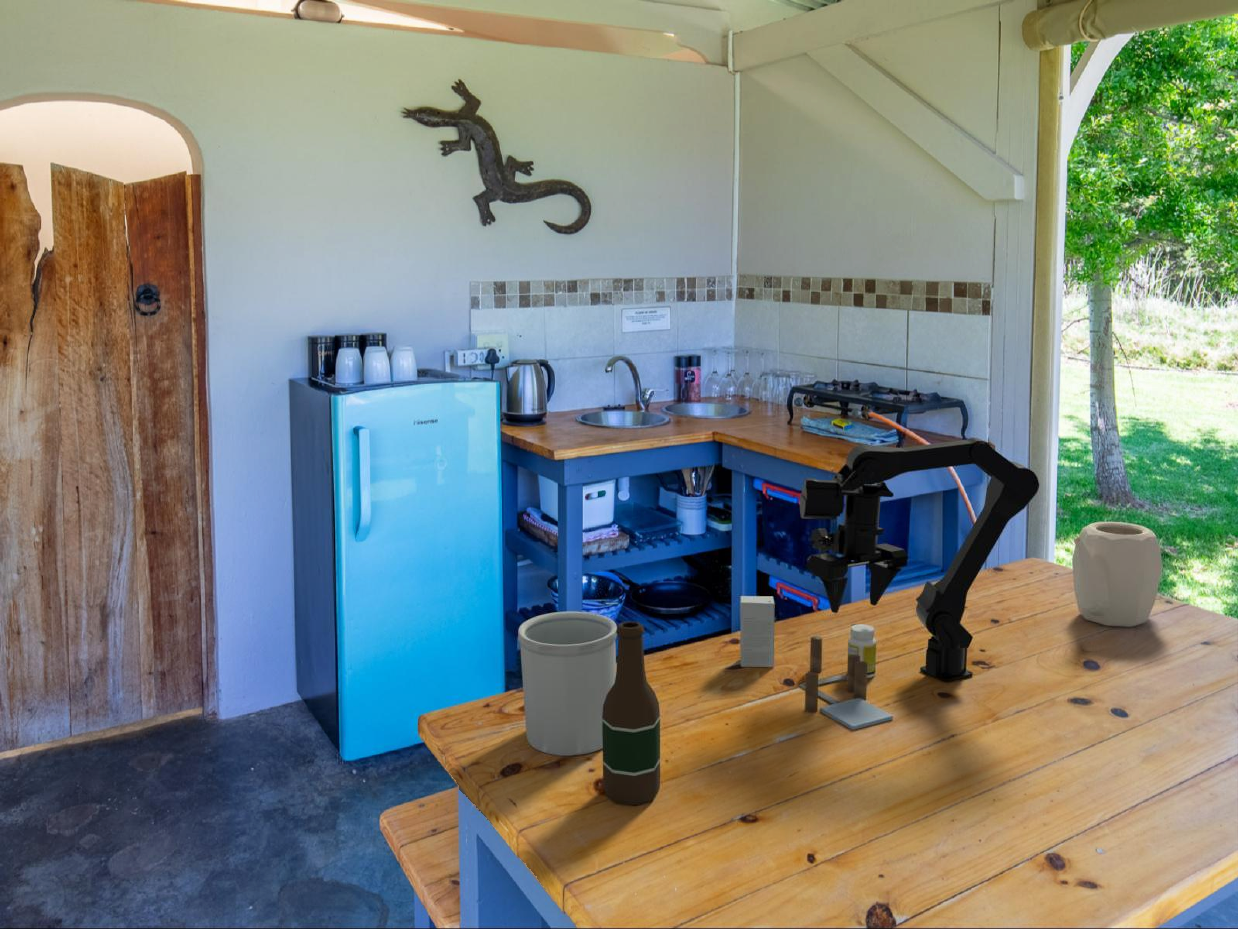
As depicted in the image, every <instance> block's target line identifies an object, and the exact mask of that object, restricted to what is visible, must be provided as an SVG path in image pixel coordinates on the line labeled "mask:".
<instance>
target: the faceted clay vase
mask: <svg viewBox="0 0 1238 929" xmlns="http://www.w3.org/2000/svg"><path fill="white" fill-rule="evenodd" d="M1072 541H1073V543H1074V544H1075V545H1074V550H1073V554H1072V558H1071V561H1072V563H1071V564H1072V578H1073V591H1074V595H1075V600H1076V605H1077V608H1078V612H1079V613H1080V614H1081V616H1082V617H1083V619H1085V620H1086V621H1090V622H1094V623H1098V624H1101V625H1103V626H1107V627H1123V628H1124V627H1127V628H1132V627H1135V626H1138V625H1141V624H1144V623H1146V622H1147V621H1148V619H1149V617H1150V615H1151V612H1152V610H1153V607H1154V605H1155V604H1156V600H1157V599H1156V598H1157V595H1158V590H1159V588H1160V583H1161V582H1160V581H1161V578H1162V574H1163V565H1162V564H1163V562H1162V553H1161V548H1160V545H1159V544H1160V543H1159V541H1158V538H1157V535H1156V534H1155V532H1154V531H1152V530H1151V529H1149V528H1147V526H1146V527H1145V526H1143V525H1139V524H1135V523H1131V522H1130V523H1129V522H1124V521H1123V522H1122V521H1097V522H1092V523H1090V524H1088V525H1086V526H1084V527H1083V528H1082V529H1081V531H1080V534H1079V535H1078V537H1075V538H1074V539H1072Z"/></svg>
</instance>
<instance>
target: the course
mask: <svg viewBox="0 0 1238 929" xmlns="http://www.w3.org/2000/svg"><path fill="white" fill-rule="evenodd" d="M809 658H810V659H809V671H810V672H806V673H805V682H804V683H800V684H799V687H800V688H802V689H803V690H805V691H804V692H805V695H804V710H805V712H806V713H811V714H812V713H813V714H814V713H818V711H819V710H818V708H819V706H818V705H819V703H818V702H819V700H818V699H821V700H823V701H825V702H827V703H828V704H829V705H832V704H836V703H840V702H841V701H840V700H838V699H837V698H834V697H833V696H831V695H829V694H827V693H825V692H823V690H822V691H821V690H820V689H819V687H821V686H824V685H829V684H833V683H837V682H841V681H846V692H848V693H851V694H852V693H853V699H856V698H861V699H863V700H865V701H866V700H867V689H868V688H867V686H868V678H867V663H866V662H864V661H860V656H859V655H856V654H850V655H848V654H847V676H846V675H845V674H839V675H838V674H837V675H836V676H835V675H834V676H830V677H826V678H822V679H819V674H818V673H821V672H822V671H823V670H822V668H823V667H822V666H823V665H822V664H823V662H822V661H823V637H822V636H817V635H813V636H810V654H809Z"/></svg>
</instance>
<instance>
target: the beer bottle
mask: <svg viewBox="0 0 1238 929" xmlns="http://www.w3.org/2000/svg"><path fill="white" fill-rule="evenodd" d="M645 632H646V631H645V627H644V625H643V624H642V623H640V622H638V621H630V620H629V621H623V622H620V623H619V624H618V625H617V630H616V633H617V636H618V637H617V653H616V655H617V656H616V678H615V683H614V685H613V686H612V688H611V689H610V691H609V692H608V694H607V696H606V699H605V702H604V704H603V714H602V739H603V748H602V782H603V792H604V794H605V795H606V796H607V797H608V799H609V800H611V802H613V803H614V804H617V805H624V806H631V807H637V806H641V805H643V804H644V805H645V804H647V803H651V802H653V801H654V800H655V798H656V796H657V794H658V792H659V791H660V786H661V713H660V703H659V700H658V696H657V695H656V692H655V690H654V689H653V688H652V687H651V684H649V682H648V680H647V674H646V668H645V667H646V666H645V665H646V664H645V655H644V654H645V653H644V641H643V640H644V639H643V635H644V633H645Z"/></svg>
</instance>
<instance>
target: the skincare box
mask: <svg viewBox="0 0 1238 929" xmlns="http://www.w3.org/2000/svg"><path fill="white" fill-rule="evenodd" d="M739 597H740V601H739V604H740V606H739V609H740V611H739V615H740V624H739V625H740V653H739V654H740V667H742V668H743V667H744V668H750V667H751V668H774V667H775V605H776V603H775V600H774V596H772V595H771V596H765V595H764V596H759V595H754V596H752V595H751V596H750V595H741V596H739Z"/></svg>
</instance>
